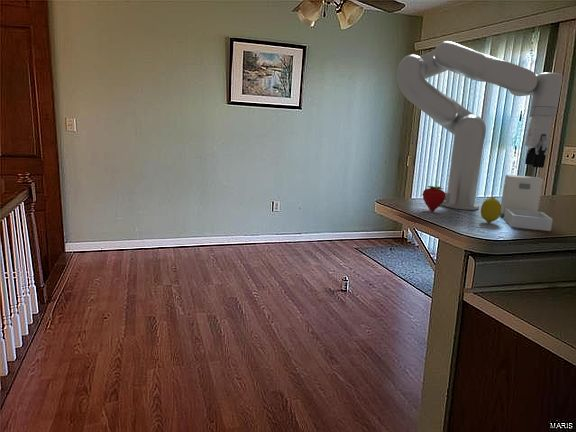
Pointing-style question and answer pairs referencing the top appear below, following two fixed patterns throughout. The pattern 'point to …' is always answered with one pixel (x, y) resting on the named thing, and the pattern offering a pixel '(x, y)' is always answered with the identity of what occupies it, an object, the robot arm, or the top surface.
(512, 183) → the block
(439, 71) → the robot arm
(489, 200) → the lemon
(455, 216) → the top surface
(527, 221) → the tray
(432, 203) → the strawberry
